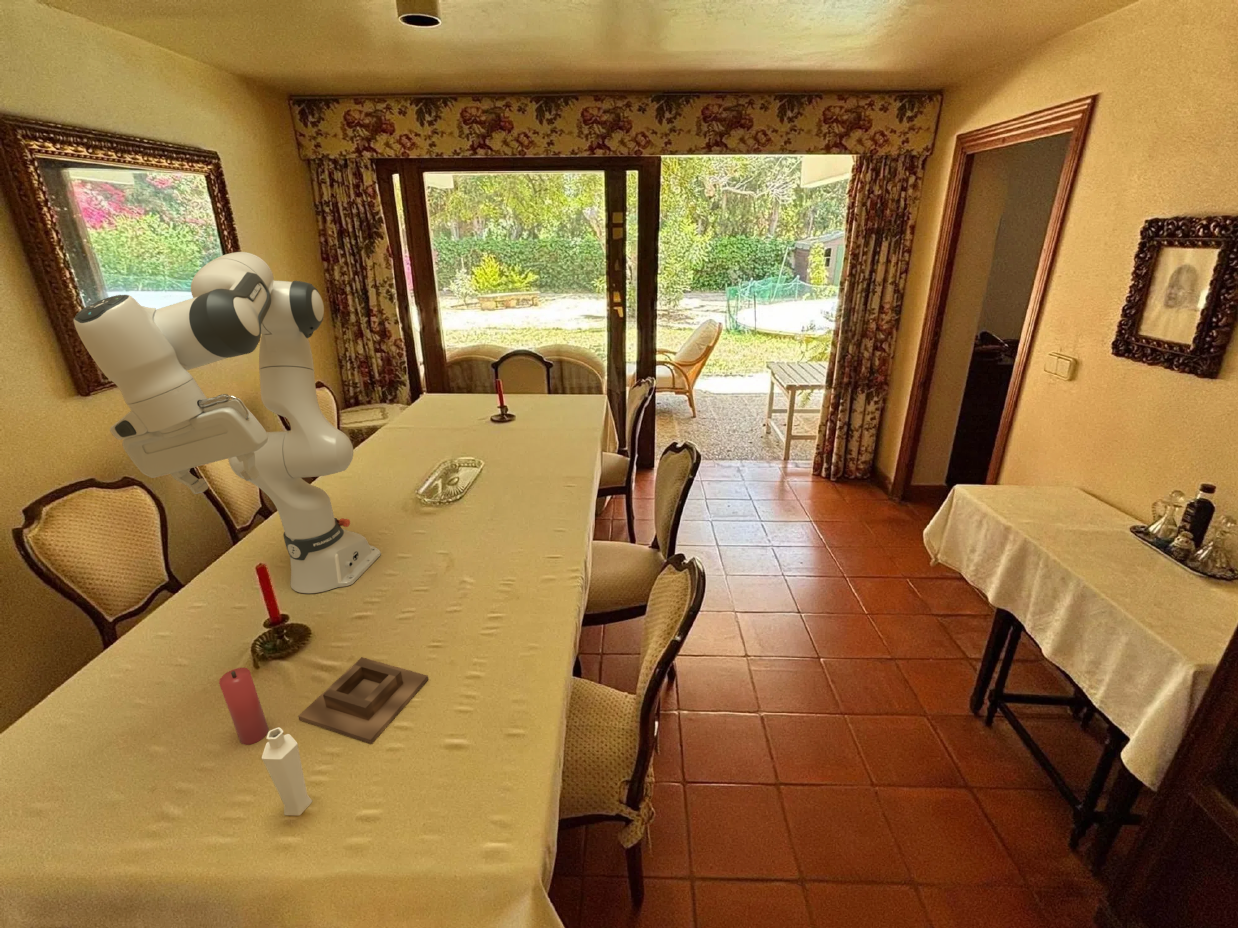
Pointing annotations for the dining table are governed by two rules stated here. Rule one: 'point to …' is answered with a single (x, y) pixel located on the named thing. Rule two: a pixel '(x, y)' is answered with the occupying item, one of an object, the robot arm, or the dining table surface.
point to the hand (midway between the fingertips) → (227, 484)
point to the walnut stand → (364, 699)
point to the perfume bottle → (286, 771)
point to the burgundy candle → (244, 705)
